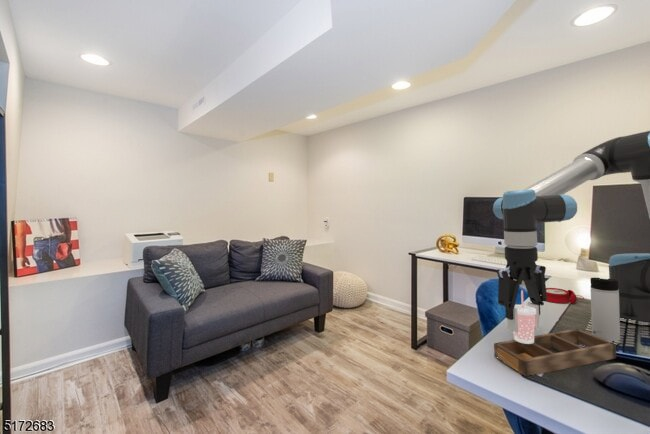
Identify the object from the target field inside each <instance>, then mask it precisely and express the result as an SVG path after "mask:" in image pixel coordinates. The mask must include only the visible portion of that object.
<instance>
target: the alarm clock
mask: <svg viewBox="0 0 650 434" xmlns="http://www.w3.org/2000/svg"><path fill="white" fill-rule="evenodd" d="M546 295H547V301H546V302H547V303H548V302H549V303H553V304H554V303H555V304H571V305H575V304H576V303H577V302H578V300H581V301H582V300H584V299H585V297H584V296H582V295H578V294H575V292H574V291H573V290H572V289H567V290H566V289H562V288H557V287H556V288H555V287H546ZM577 297H581V298H577Z"/></svg>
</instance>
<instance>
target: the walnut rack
mask: <svg viewBox="0 0 650 434" xmlns="http://www.w3.org/2000/svg"><path fill="white" fill-rule="evenodd" d="M581 344H583V345H585V346H588V347H585V346H583V345H582V346H581ZM550 349H553V350H555V351H557V352H553V351H551V350H550ZM493 351H494V352H493V353H494V357H495V356H496V357H498V358H497V359H498V360H499V359H500V360H499V361H501V360H502V361H503V362H502V361H501V362H502V363H504V362H505V363H506V364H505V363H504V364H505V365H507V364H508V365H509V366H508V365H507V366H508V367H510V366H511V367H512V368H511V367H510V368H511V369H513V368H514V369H515V370H514V369H513V370H514V371H516V372H517V371H518V372H517V373H519V374H520V373H521V374H520V375H522V374H523V375H524V376H523V375H522V376H523V377H525V376H527V377H530V376H529V375H532V376H536V375H535V374H537V375H541V374H546V373H550V372H556V371H560V370H566V369H570V368H576V367H580V366H584V365H590V364H594V363H595V364H596V363H599V362H604V361H609V360H615V359H617V346H616V344H614V343H612V342H609V341H607V340H604V339H602V338H599V337H597V336H594V335H592V333H588V332H586V331H584V330H581V329H579V328H573V329H566V330H562V331H556V332H550V333H545V334H538V335H534V343H532V344H524V343H520V342H518V341H516V340H515V339H510V340H506V341H505V340H504V341H499V342H494V343H493ZM496 357H495V358H496Z"/></svg>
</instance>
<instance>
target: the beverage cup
mask: <svg viewBox="0 0 650 434" xmlns="http://www.w3.org/2000/svg"><path fill="white" fill-rule="evenodd" d="M520 299H521V304H515V308H517V312H518V332H514V331H512V332H513V340H516V341H518V342H520V343H524V344H532V343H534V336H535V332H536V331H535V329H536V328H535V314H536V309H535V308H533V307H531V306H528V304H527V305H526V304H524V290H522V289H521V290H520Z"/></svg>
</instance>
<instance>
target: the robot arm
mask: <svg viewBox="0 0 650 434" xmlns="http://www.w3.org/2000/svg"><path fill="white" fill-rule="evenodd" d="M623 173H624V174H626V173H630V174H631V178H632V180H633V181H634V182H637V183H638V184H640V185H641V189H642V193H643V198H644V201H645V206H646V209H647V213H648V218H649V219H650V130H647V131H642V132H638V133H632V134H629V135H624V136H619V137H615V138H611V139H609V140H607V141H604V142H601V143H599V144H597V145H596V146H594V147H592V148H590V149H588V150H586V151H584V152H582V153H581V154H579V155H577V156H576V157H575V158H574V159H573V160H572V162H571V163H569V164H567V165H566V166H563V167H562V168H560V169H558V170H557V171H556V170H555V172H553V173H551V174H549V175H547V176H545V177H544V178H542V179H540V180H538V181H537V182H535V183H533V184H531V185H529V186H528V187H526V188H523V189H521V190H520V189H518V190H517V189H516V190H506V191H505V192H504V193H503V195H502V197H500V198H497V199H496V200H495V201H494V203H493V206H492V212H493V214H494V215H495V217H497V218H498V219H499V220H503V238H504V239H503V243H504V245H505V247H504V259H505V260H506V265H505V268H503V269H500V268H499V269H497V270H496V274H497V277H498V287H497V288H498V291H497V303H498V305H500V306H502V307H504V308H505V309H504V311H505V318H506V319H507V329H508V330H509V331H512V332H513V331H514V332H518V312H517V308H515V305H516V304H517V303H516V302H517V298H518V293H519V289H520V285H522V283H524V285H525V289H526V292H527V294H528V297H529V301H530V302H527V306H531V307H533V308H535V309H536V314H535V329H537V330H538V329H540V315H541V306H544V305H545V302H548V301H547V295H546V288H547V287H546V275H545V274H546V270H547V269H546V268H547V267H546V266H544V265H539V264H537V263H536V262H537V261H538V259H539V258H538V257H539V256H538V248H537V245H538V233H537V230H538V229H537V224H540V223H542V224H543V223H552V222H553V223H554V222H555V223H556V222H559V223H561V222H563V221H569V220H571V219H573V218H574V217H575V216H576V215H577V212H578V202H577V201H576V199H574V197H573V196H570V195H569V194H567V193H568V192H570V191H572V190H573V189H576V188H578V187H579V186H581V185H583V184H584V183H586V182H588V181H595V180H598V179H600V178H602V177H604V176H608V175H609V176H610V175H615V174H623ZM608 263H609V264H608V275H609V276H608V279H615V280H618V285H619V286H618V287H619V291H618V292H619V313H620V318H624V319H631V320H637V321H643V322H650V253H649V252H648V253H645V252H642V253H640V252H639V253H638V252H637V253H635V252H634V253H629V252H628V253H617V254H613V255H611V256H610V257H609V259H608Z"/></svg>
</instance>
